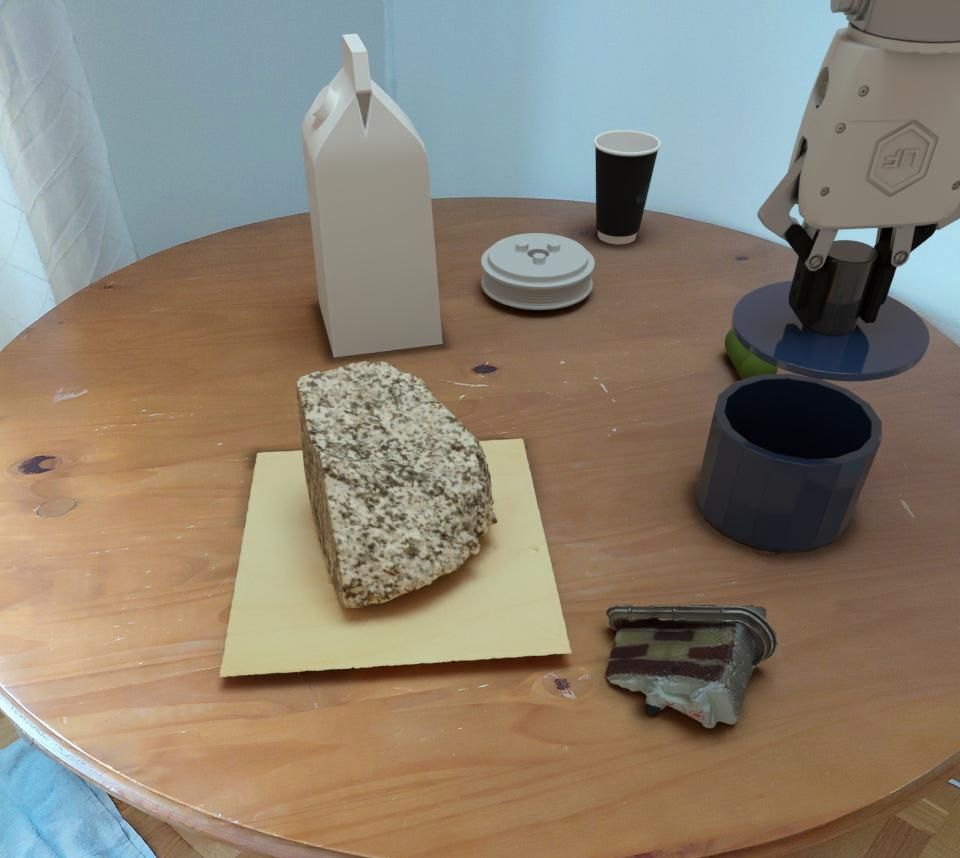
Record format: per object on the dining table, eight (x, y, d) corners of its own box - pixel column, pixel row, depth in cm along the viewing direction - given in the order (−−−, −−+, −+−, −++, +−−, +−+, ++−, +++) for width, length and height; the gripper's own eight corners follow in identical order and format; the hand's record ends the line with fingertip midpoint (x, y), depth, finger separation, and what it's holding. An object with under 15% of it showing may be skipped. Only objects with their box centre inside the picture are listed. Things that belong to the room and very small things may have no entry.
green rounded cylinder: (717, 349, 93) (724, 317, 90) (751, 348, 93) (759, 315, 90) (741, 395, 87) (749, 362, 84) (777, 393, 87) (786, 360, 84)
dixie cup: (578, 225, 114) (585, 131, 106) (638, 221, 115) (649, 127, 107) (594, 252, 109) (603, 154, 101) (656, 247, 110) (670, 150, 101)
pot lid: (879, 290, 69) (907, 205, 65) (957, 383, 60) (996, 292, 55) (708, 299, 69) (724, 214, 64) (760, 395, 60) (783, 304, 55)
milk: (442, 344, 93) (433, 57, 74) (333, 357, 92) (295, 67, 72) (420, 292, 101) (406, 21, 82) (319, 303, 99) (281, 29, 80)
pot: (818, 455, 80) (846, 370, 74) (871, 547, 71) (909, 460, 65) (680, 462, 79) (697, 377, 73) (718, 556, 71) (741, 468, 64)
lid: (518, 328, 96) (519, 283, 92) (461, 282, 103) (460, 238, 99) (613, 300, 100) (618, 256, 96) (552, 258, 107) (554, 215, 104)
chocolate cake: (565, 692, 62) (698, 672, 52) (596, 607, 64) (727, 574, 55) (656, 754, 66) (794, 747, 56) (681, 672, 69) (817, 652, 59)
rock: (250, 450, 80) (322, 290, 71) (458, 534, 89) (547, 402, 79) (209, 674, 60) (302, 494, 51) (484, 755, 69) (606, 613, 59)
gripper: (799, 29, 47) (731, 349, 60) (1103, 17, 48) (968, 335, 61) (757, -6, 52) (703, 296, 65) (1032, -15, 53) (922, 285, 66)
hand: (832, 313), depth 63 cm, fingers closed on pot lid, 3 cm apart
